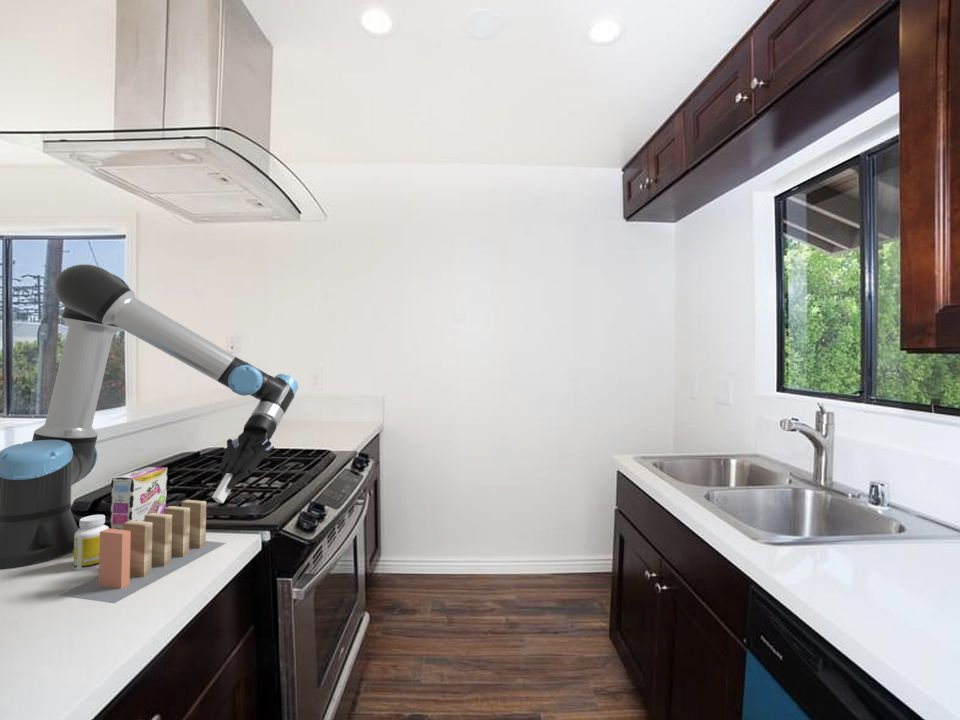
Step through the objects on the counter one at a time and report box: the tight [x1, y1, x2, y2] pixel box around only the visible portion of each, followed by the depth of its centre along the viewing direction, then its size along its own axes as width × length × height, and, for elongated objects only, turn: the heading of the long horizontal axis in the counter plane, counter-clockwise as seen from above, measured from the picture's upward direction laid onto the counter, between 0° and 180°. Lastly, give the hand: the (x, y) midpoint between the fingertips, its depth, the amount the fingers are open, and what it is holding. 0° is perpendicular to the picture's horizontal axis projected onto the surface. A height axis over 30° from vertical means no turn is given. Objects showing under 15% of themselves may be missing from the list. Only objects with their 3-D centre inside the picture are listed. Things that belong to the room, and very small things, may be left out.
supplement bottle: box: [73, 514, 110, 571], centre depth 91 cm, size 5×5×10 cm
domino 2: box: [123, 520, 152, 577], centre depth 87 cm, size 2×5×10 cm, turn 80°
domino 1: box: [98, 528, 131, 588], centre depth 83 cm, size 2×5×10 cm, turn 80°
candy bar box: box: [109, 466, 169, 530], centre depth 102 cm, size 11×5×16 cm, turn 0°
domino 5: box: [180, 499, 207, 548], centre depth 100 cm, size 2×5×10 cm, turn 80°
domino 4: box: [164, 505, 190, 557], centre depth 96 cm, size 2×5×10 cm, turn 80°
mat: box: [58, 540, 227, 604], centre depth 91 cm, size 26×12×1 cm, turn 170°
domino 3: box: [144, 513, 172, 566], centre depth 92 cm, size 2×5×10 cm, turn 80°
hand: (217, 500), depth 107 cm, fingers closed
